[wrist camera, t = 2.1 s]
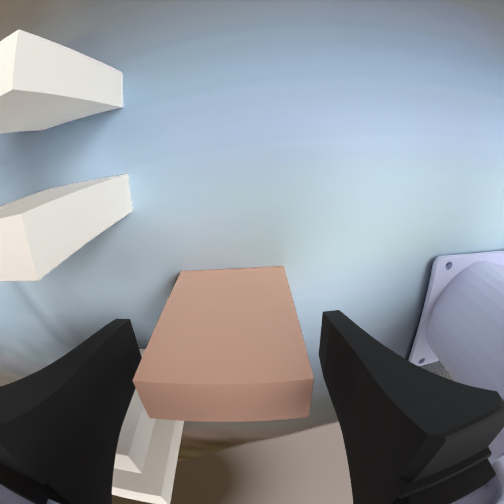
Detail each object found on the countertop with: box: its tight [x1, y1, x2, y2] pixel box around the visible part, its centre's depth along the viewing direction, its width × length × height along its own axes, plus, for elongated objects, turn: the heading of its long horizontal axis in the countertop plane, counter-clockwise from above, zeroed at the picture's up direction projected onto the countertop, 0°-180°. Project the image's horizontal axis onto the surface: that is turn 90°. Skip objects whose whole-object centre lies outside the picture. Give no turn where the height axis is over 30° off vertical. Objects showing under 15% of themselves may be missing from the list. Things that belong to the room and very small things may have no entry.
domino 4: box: [112, 419, 184, 504], centre depth 15 cm, size 2×5×8 cm, turn 93°
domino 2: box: [0, 174, 133, 281], centre depth 9 cm, size 2×5×8 cm, turn 93°
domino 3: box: [114, 349, 155, 474], centre depth 13 cm, size 2×5×8 cm, turn 93°
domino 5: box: [133, 266, 314, 422], centre depth 11 cm, size 2×5×8 cm, turn 93°
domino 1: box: [0, 30, 123, 133], centre depth 7 cm, size 2×5×8 cm, turn 93°
